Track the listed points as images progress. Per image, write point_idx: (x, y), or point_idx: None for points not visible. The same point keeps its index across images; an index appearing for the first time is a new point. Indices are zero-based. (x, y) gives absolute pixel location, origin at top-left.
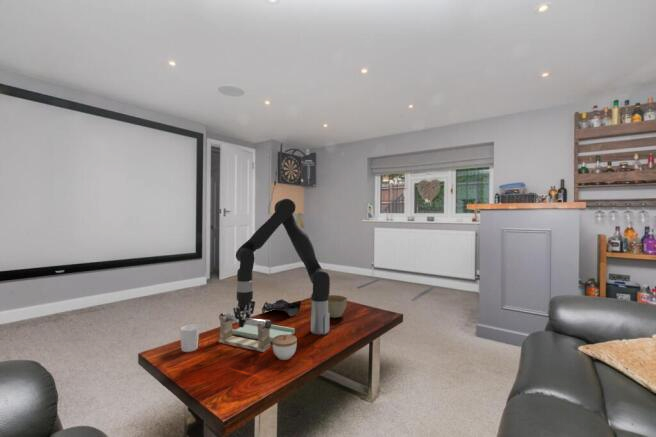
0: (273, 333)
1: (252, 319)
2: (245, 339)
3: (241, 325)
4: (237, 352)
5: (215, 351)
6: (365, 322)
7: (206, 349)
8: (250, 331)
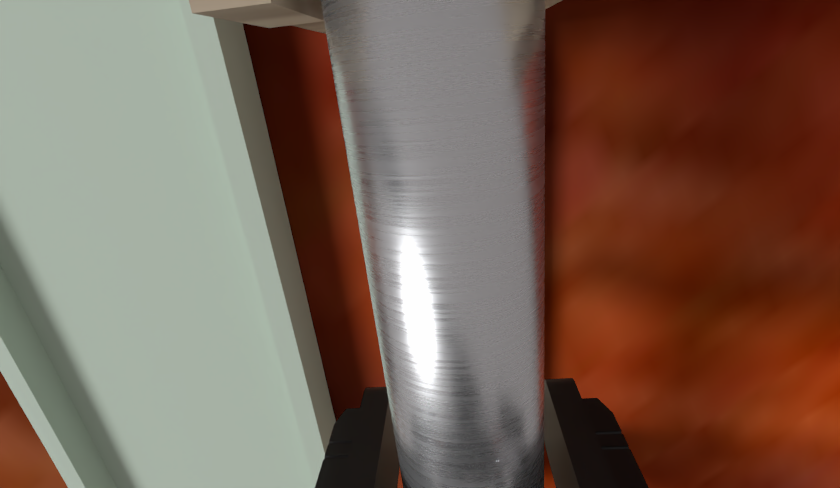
0: (82, 162)
1: (498, 328)
2: None
3: (603, 415)
4: (641, 197)
5: (689, 378)
6: None
7: (677, 455)
8: (222, 394)
